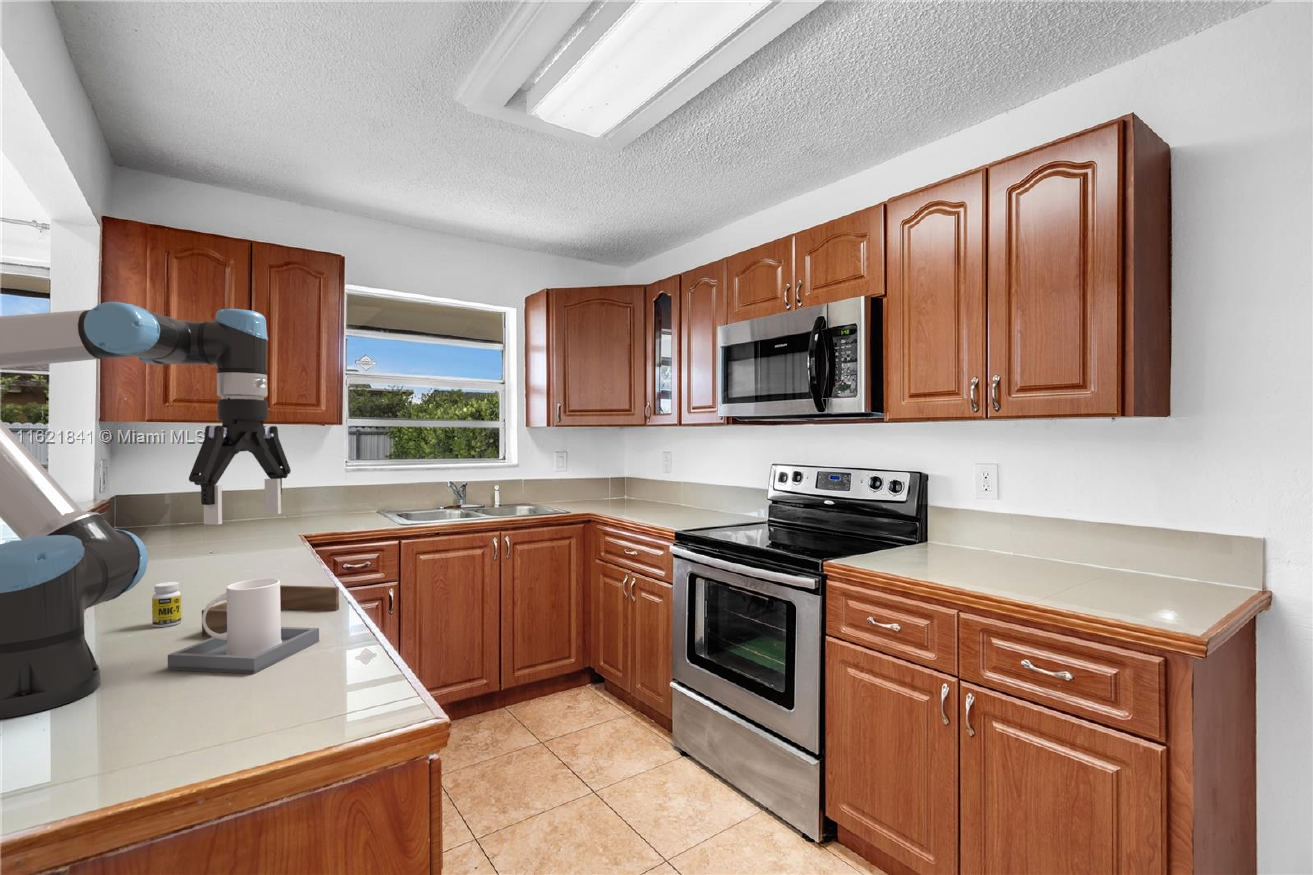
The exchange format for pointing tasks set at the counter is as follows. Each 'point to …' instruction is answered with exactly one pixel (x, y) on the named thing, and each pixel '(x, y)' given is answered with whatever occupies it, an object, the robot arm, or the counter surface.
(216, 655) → the tray
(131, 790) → the counter surface
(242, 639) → the mug
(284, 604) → the bay
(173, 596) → the supplement bottle
